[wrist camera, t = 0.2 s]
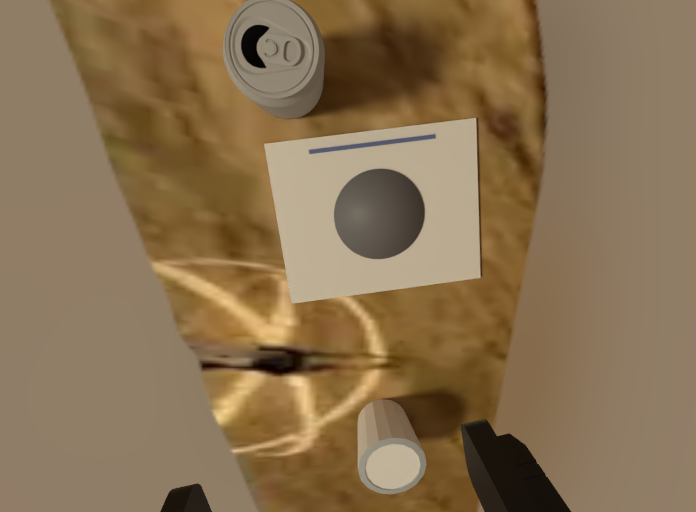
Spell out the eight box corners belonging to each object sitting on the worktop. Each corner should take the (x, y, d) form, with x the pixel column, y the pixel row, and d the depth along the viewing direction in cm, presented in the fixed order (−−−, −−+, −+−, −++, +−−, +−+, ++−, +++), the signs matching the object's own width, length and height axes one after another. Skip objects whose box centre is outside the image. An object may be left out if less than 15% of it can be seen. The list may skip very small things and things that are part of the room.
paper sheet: (264, 144, 36) (263, 143, 35) (474, 118, 36) (476, 117, 36) (291, 302, 40) (291, 303, 40) (479, 276, 41) (480, 278, 40)
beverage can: (255, 36, 33) (220, -24, 22) (328, 50, 34) (331, -2, 23) (249, 113, 35) (213, 95, 23) (319, 125, 36) (318, 112, 24)
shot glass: (419, 430, 45) (436, 478, 39) (367, 453, 46) (374, 505, 39) (397, 385, 44) (411, 427, 37) (342, 409, 44) (346, 456, 37)
